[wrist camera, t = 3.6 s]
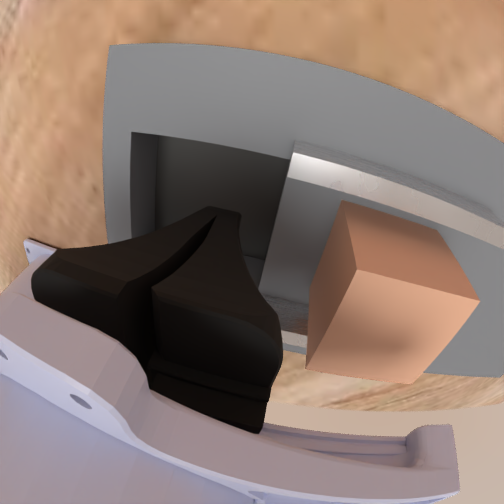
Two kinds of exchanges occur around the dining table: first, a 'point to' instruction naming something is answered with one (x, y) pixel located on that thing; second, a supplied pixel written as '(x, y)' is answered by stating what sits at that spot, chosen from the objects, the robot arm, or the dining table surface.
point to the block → (384, 298)
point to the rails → (385, 192)
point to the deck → (277, 165)
